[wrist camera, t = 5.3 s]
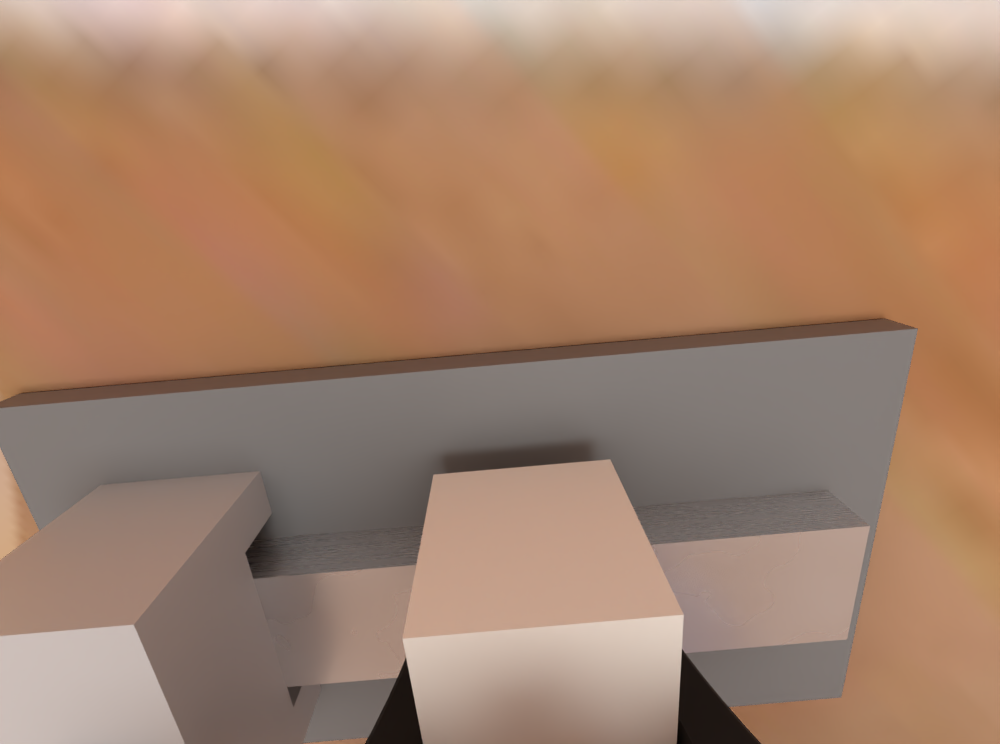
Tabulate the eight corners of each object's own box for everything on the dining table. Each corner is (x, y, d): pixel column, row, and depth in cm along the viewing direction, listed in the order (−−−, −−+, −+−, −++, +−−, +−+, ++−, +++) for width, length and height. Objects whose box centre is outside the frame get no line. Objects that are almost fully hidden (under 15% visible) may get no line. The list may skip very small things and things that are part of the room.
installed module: (320, 688, 15) (237, 937, 10) (188, 699, 15) (38, 954, 10) (259, 471, 12) (106, 657, 7) (100, 484, 12) (-161, 681, 7)
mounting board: (821, 668, 17) (841, 697, 16) (165, 724, 17) (146, 756, 16) (885, 318, 12) (917, 328, 12) (20, 393, 13) (-18, 409, 12)
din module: (612, 697, 14) (678, 962, 9) (468, 710, 14) (458, 980, 9) (609, 459, 11) (701, 651, 6) (433, 474, 11) (394, 677, 6)
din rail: (811, 595, 14) (847, 639, 13) (151, 651, 14) (114, 701, 13) (827, 490, 13) (869, 526, 12) (108, 552, 13) (62, 595, 12)
